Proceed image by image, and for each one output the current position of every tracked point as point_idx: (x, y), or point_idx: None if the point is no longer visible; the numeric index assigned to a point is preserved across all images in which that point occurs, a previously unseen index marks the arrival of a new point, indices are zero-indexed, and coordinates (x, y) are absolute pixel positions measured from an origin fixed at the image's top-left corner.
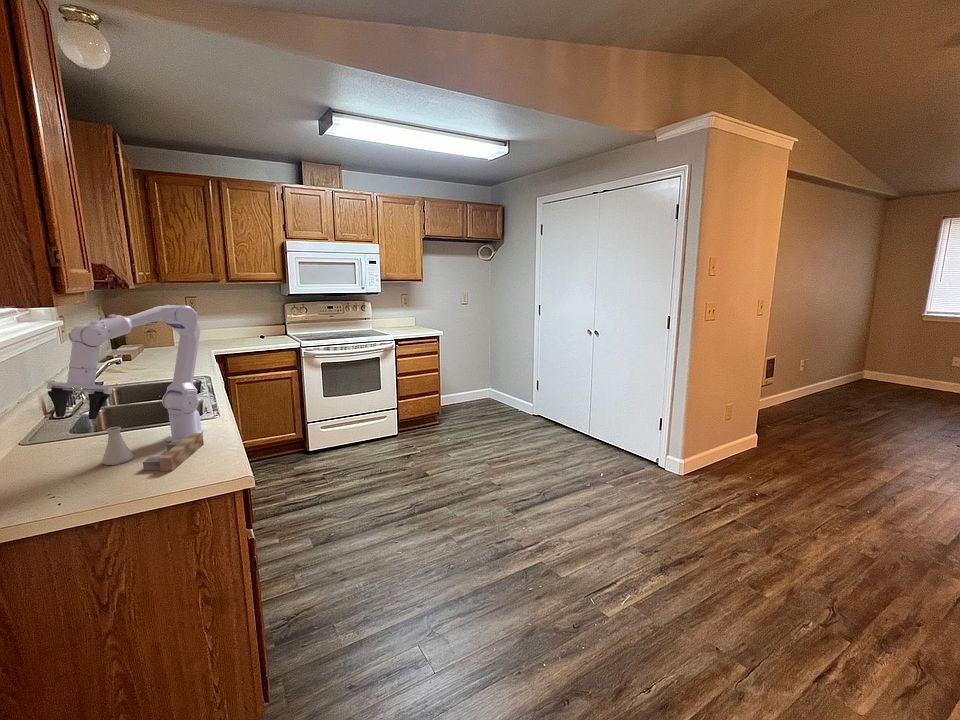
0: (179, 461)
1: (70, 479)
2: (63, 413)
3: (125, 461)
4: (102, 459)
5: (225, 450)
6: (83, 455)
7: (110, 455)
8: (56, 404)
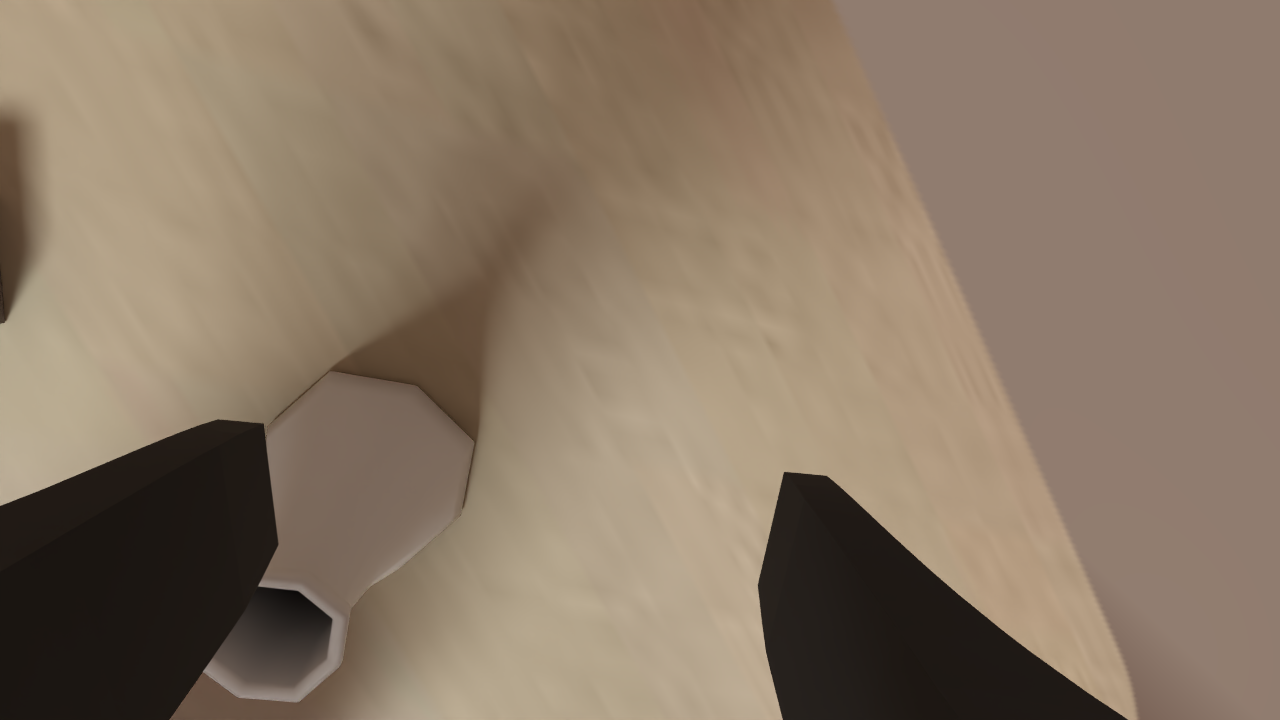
0: None
1: (535, 154)
2: (774, 604)
3: (278, 419)
4: (464, 454)
5: None
6: (693, 617)
7: (360, 424)
8: (932, 628)
